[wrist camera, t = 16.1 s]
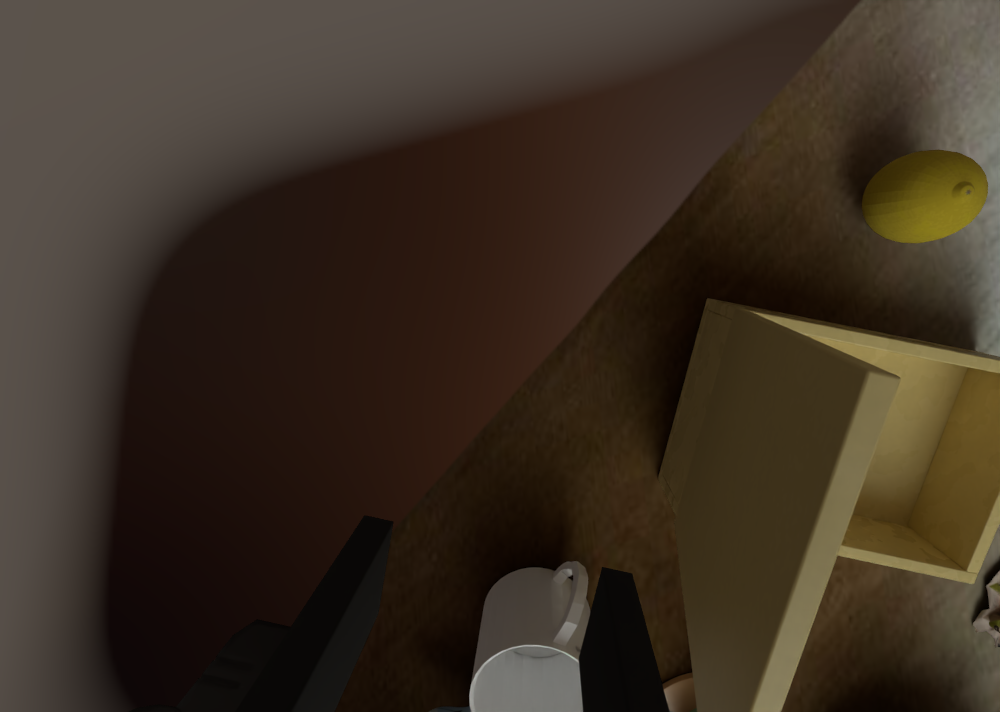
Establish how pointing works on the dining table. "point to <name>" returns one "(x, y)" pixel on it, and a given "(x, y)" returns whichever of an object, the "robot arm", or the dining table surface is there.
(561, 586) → the mug
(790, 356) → the lid
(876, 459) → the open rectangular box
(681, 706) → the trivet
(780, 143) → the dining table surface
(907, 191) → the lemon
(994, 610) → the bear figurine
